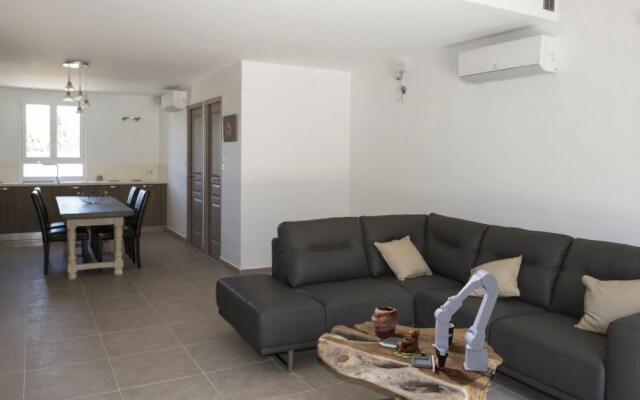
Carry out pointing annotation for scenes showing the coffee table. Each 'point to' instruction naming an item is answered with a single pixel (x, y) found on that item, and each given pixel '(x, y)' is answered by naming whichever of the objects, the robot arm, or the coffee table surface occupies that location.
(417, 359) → the dish
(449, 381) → the coffee table surface
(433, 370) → the acrylic wall
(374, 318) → the decorative planter
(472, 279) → the robot arm
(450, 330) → the mug
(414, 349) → the bear figurine
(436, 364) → the ball
